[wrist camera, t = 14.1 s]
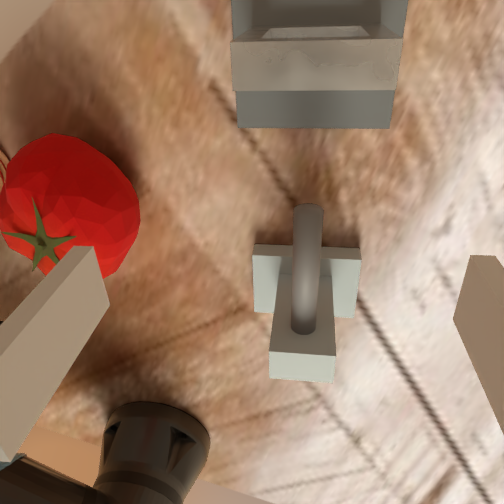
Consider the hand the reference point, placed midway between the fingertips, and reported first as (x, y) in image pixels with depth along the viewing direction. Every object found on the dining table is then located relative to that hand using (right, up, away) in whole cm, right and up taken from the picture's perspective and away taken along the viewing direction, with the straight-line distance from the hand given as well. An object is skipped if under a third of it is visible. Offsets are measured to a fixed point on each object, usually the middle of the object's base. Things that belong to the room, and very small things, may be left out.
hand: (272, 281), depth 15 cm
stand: (+4, +2, +25) cm, 25 cm away
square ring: (+4, +16, +15) cm, 22 cm away
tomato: (-15, +7, +25) cm, 30 cm away
